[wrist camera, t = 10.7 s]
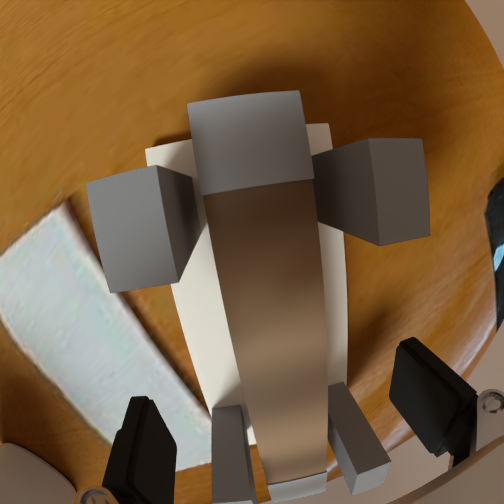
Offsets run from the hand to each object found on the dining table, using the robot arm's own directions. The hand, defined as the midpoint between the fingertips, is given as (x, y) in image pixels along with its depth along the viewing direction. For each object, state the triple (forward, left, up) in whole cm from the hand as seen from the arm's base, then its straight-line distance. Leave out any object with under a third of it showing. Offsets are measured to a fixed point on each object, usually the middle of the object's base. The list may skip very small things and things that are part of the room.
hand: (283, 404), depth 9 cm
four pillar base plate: (+1, 0, -8) cm, 8 cm away
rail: (+1, 0, -7) cm, 7 cm away
